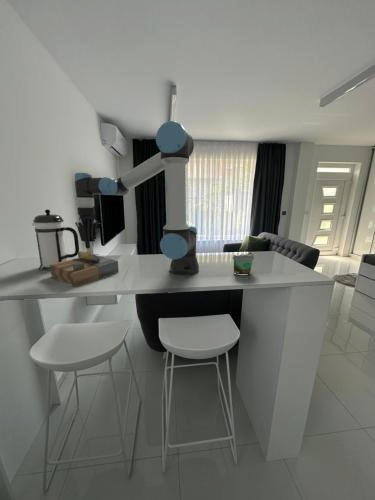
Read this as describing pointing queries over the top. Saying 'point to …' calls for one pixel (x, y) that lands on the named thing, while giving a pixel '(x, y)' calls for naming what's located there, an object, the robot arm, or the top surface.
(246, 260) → the food container
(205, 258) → the top surface
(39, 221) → the coffee press
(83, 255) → the lock bar
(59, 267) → the slotted wooden block
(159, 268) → the top surface
